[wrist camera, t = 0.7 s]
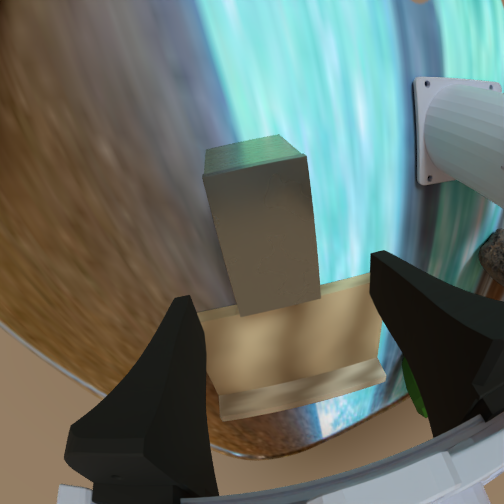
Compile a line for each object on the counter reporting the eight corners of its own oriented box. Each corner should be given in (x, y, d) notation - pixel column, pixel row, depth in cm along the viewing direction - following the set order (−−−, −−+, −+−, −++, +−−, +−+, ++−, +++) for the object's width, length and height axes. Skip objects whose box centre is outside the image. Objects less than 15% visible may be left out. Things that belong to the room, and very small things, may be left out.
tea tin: (204, 148, 19) (202, 177, 13) (279, 133, 19) (307, 155, 13) (232, 259, 23) (240, 317, 18) (296, 245, 23) (321, 298, 18)
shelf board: (379, 269, 25) (400, 297, 22) (371, 355, 31) (384, 382, 27) (185, 314, 25) (184, 349, 22) (221, 392, 30) (223, 422, 27)
